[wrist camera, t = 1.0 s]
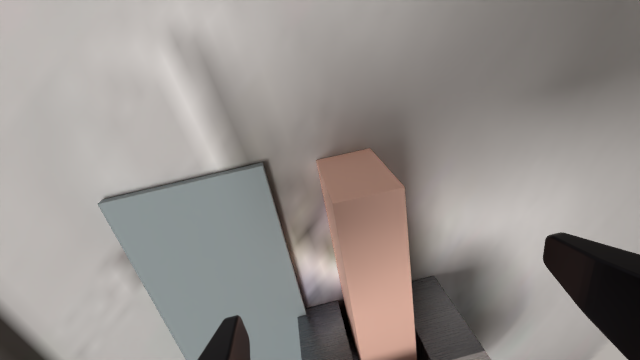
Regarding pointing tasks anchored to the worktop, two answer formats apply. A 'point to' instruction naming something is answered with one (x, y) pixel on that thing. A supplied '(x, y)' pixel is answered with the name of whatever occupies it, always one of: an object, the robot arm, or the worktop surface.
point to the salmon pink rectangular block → (371, 253)
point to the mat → (213, 259)
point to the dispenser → (429, 319)
